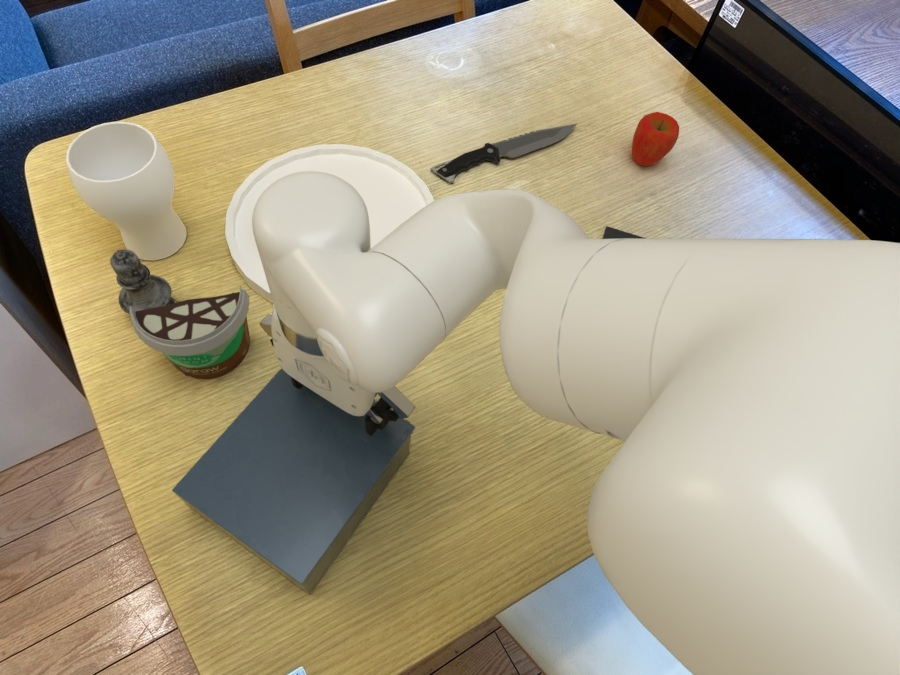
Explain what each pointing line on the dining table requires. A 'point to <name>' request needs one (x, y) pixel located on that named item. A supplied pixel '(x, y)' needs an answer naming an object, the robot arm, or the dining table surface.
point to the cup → (128, 186)
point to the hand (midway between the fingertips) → (341, 400)
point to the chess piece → (139, 283)
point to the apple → (654, 138)
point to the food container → (198, 333)
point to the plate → (370, 172)
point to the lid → (291, 474)
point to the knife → (502, 150)
